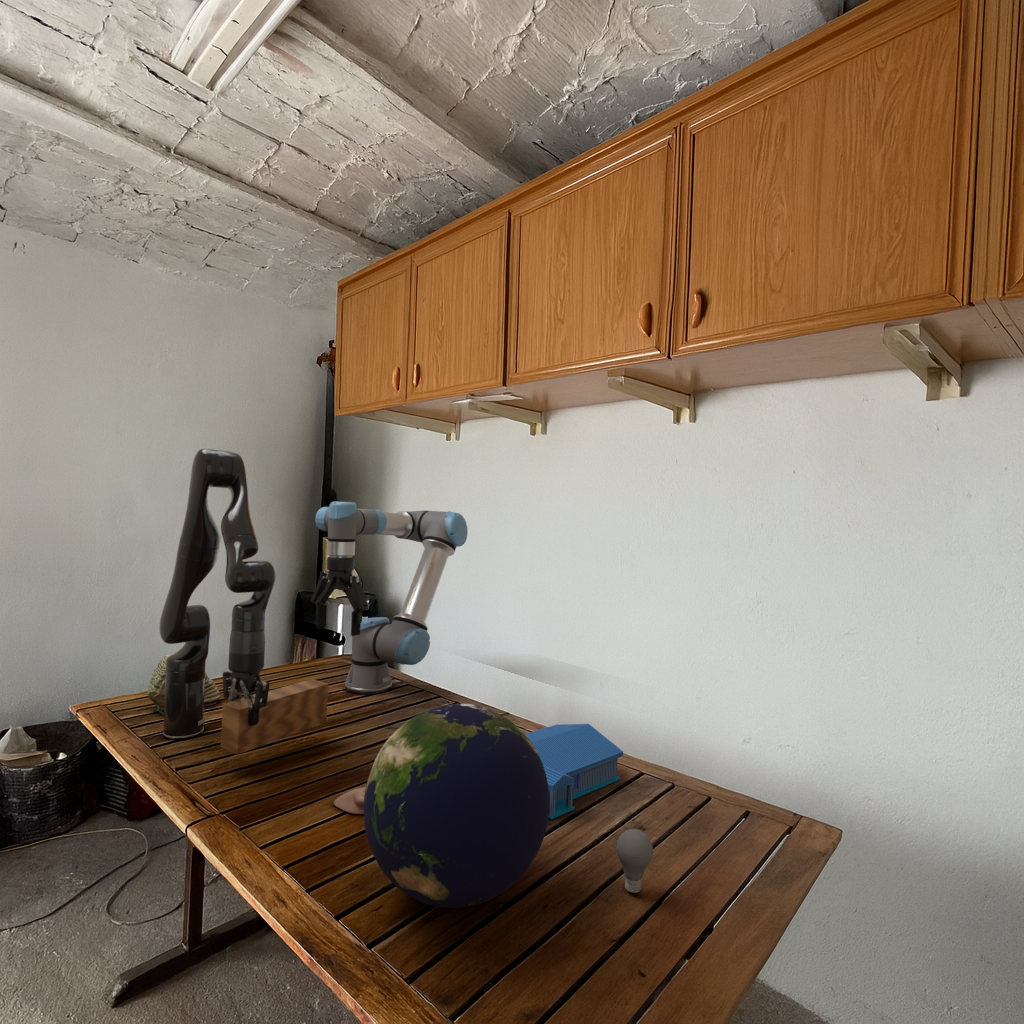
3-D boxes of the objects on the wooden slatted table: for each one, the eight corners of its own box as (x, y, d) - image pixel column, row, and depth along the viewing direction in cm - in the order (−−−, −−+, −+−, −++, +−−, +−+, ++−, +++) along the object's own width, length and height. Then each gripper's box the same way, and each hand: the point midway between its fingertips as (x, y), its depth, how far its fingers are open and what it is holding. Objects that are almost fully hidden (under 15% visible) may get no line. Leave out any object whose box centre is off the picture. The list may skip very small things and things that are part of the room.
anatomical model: (326, 790, 128) (352, 767, 139) (326, 809, 128) (351, 785, 139) (388, 799, 125) (409, 775, 136) (387, 819, 125) (408, 793, 137)
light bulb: (610, 879, 108) (613, 822, 108) (644, 879, 109) (647, 822, 109) (619, 902, 102) (622, 840, 102) (655, 901, 103) (658, 840, 103)
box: (237, 754, 140) (239, 709, 140) (220, 747, 143) (222, 703, 143) (326, 722, 162) (328, 683, 162) (310, 717, 165) (312, 678, 165)
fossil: (144, 707, 182) (145, 655, 182) (212, 696, 194) (213, 647, 194) (151, 716, 175) (153, 662, 175) (221, 703, 188) (223, 653, 188)
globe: (319, 919, 95) (326, 721, 95) (420, 827, 123) (427, 673, 122) (502, 984, 84) (511, 760, 83) (568, 867, 112) (576, 698, 111)
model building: (505, 839, 120) (507, 787, 120) (430, 791, 138) (432, 746, 138) (631, 784, 146) (633, 741, 146) (555, 749, 164) (556, 711, 164)
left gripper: (281, 651, 144) (277, 724, 144) (242, 640, 151) (238, 709, 152) (252, 657, 137) (249, 734, 138) (213, 645, 145) (209, 718, 145)
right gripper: (383, 559, 175) (380, 635, 175) (320, 552, 188) (317, 623, 188) (363, 561, 169) (360, 640, 169) (300, 553, 182) (297, 627, 182)
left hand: (243, 721), depth 145 cm, fingers closed on box, 6 cm apart
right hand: (338, 631), depth 179 cm, fingers open, 13 cm apart
